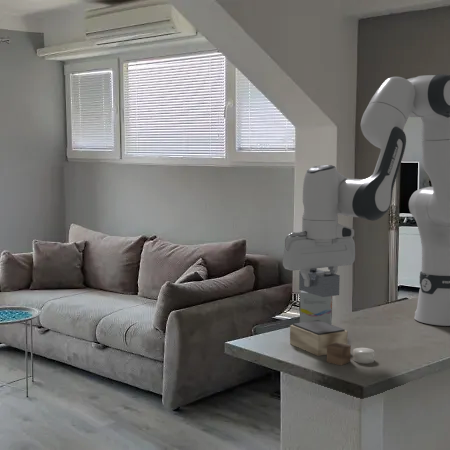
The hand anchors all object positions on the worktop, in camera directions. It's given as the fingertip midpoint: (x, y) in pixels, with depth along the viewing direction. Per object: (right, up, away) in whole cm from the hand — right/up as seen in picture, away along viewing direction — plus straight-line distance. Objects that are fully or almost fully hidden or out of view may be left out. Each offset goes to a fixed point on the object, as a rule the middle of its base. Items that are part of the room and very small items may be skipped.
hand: (318, 285), depth 175 cm
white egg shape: (+10, -17, -9) cm, 22 cm away
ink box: (+2, -15, +17) cm, 23 cm away
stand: (0, -16, +2) cm, 16 cm away
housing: (0, -2, 0) cm, 2 cm away
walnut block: (+3, -17, -10) cm, 20 cm away
